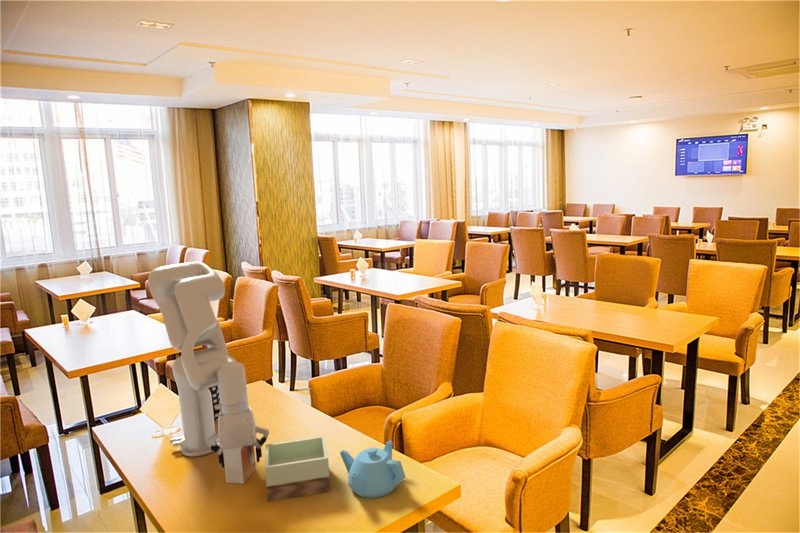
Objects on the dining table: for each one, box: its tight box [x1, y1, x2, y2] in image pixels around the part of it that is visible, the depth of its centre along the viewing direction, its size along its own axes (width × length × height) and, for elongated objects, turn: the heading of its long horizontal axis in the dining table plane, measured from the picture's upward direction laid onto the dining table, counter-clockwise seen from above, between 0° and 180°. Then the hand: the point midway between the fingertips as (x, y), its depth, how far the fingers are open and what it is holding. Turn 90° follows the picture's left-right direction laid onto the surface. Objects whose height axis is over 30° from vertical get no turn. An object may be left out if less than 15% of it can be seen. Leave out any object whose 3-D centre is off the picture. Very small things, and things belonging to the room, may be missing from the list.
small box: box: [223, 445, 257, 484], centre depth 154 cm, size 8×6×10 cm
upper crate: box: [264, 435, 330, 488], centre depth 149 cm, size 17×13×5 cm
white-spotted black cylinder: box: [208, 385, 221, 423], centre depth 193 cm, size 8×8×20 cm
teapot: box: [339, 440, 407, 499], centre depth 146 cm, size 15×15×11 cm
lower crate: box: [266, 476, 332, 503], centre depth 150 cm, size 17×13×4 cm
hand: (241, 462), depth 154 cm, fingers open, 9 cm apart
